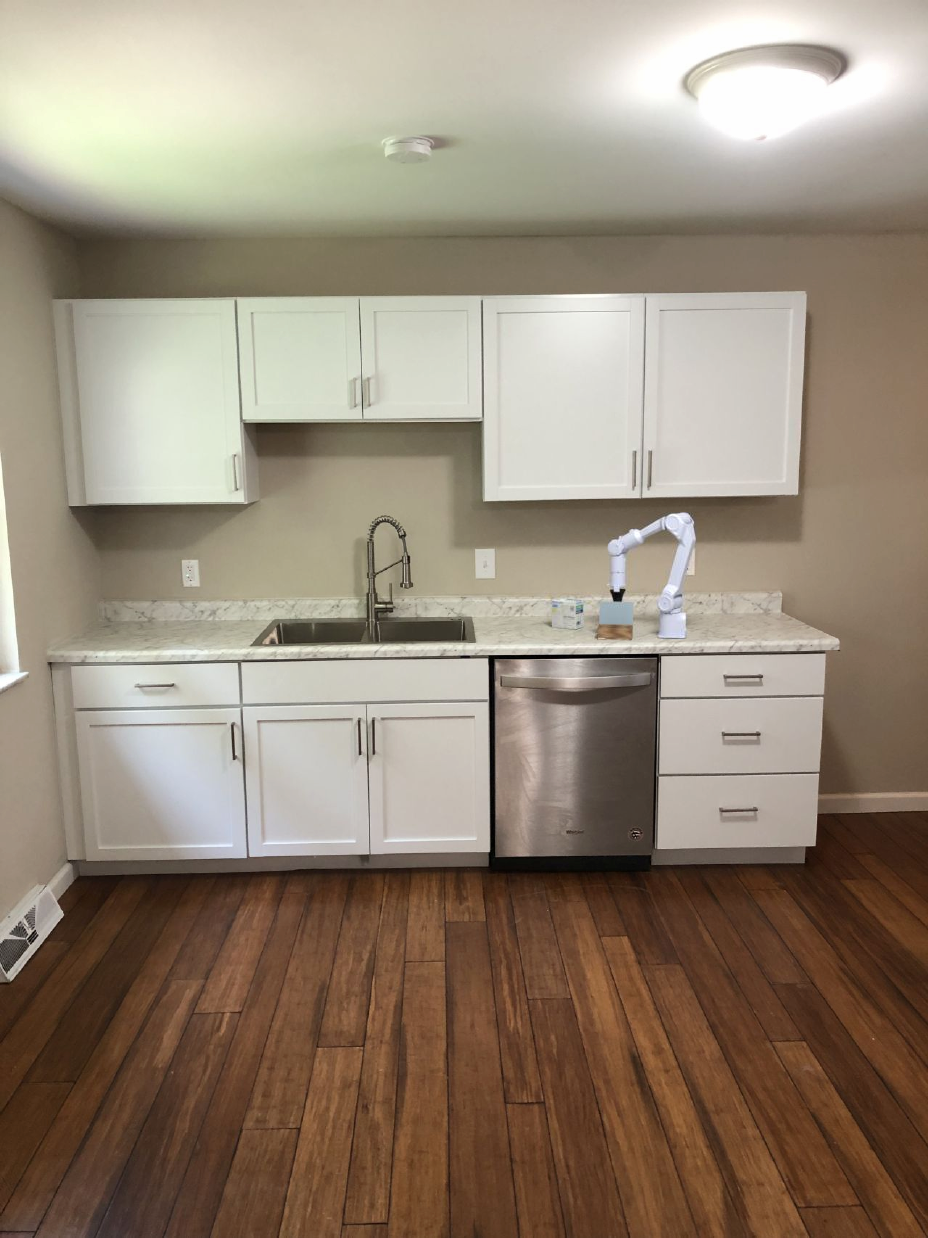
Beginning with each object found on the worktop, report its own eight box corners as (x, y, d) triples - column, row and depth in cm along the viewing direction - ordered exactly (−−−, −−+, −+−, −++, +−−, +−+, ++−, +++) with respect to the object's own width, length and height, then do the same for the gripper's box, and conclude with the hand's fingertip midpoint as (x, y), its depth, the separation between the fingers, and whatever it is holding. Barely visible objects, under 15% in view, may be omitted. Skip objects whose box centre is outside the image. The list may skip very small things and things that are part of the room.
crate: (632, 636, 337) (632, 625, 336) (631, 640, 329) (631, 629, 328) (599, 635, 339) (599, 624, 339) (597, 639, 332) (597, 628, 331)
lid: (632, 624, 336) (632, 625, 337) (633, 601, 337) (633, 601, 338) (599, 624, 339) (599, 624, 340) (599, 600, 339) (600, 601, 341)
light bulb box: (584, 627, 356) (584, 599, 354) (575, 630, 351) (576, 601, 349) (559, 624, 362) (559, 597, 360) (550, 627, 357) (550, 599, 355)
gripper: (608, 569, 351) (607, 605, 354) (605, 574, 337) (605, 611, 340) (627, 569, 350) (626, 605, 352) (625, 574, 336) (624, 611, 338)
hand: (617, 608), depth 346 cm, fingers closed
